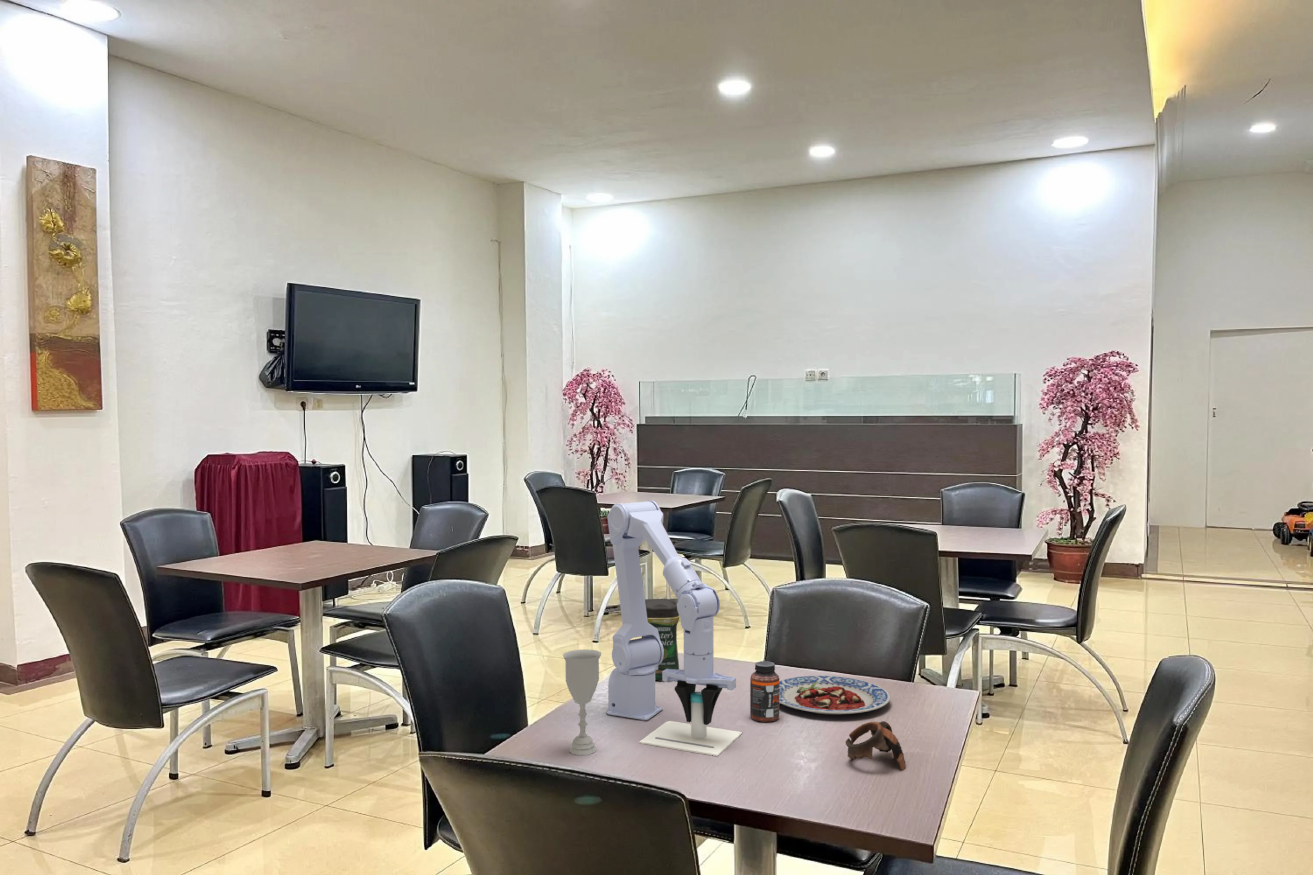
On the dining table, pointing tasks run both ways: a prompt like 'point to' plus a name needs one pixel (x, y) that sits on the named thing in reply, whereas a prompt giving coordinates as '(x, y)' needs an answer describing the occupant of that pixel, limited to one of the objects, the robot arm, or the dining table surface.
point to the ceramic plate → (831, 694)
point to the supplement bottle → (764, 692)
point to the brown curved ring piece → (875, 742)
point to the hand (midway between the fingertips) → (698, 721)
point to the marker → (697, 716)
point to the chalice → (582, 691)
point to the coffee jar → (665, 630)
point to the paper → (691, 738)
